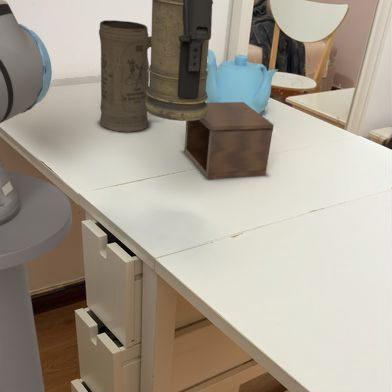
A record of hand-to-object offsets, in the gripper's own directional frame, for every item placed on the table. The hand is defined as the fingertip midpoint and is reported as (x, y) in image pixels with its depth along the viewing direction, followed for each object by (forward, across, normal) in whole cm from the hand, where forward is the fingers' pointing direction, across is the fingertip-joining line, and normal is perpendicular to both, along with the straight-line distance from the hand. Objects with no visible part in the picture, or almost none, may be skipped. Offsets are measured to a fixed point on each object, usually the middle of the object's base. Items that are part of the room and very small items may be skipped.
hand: (177, 86), depth 74 cm
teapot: (+20, +54, -33) cm, 66 cm away
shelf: (+19, +20, -17) cm, 33 cm away
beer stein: (+20, +46, -5) cm, 50 cm away
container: (+3, 0, 0) cm, 3 cm away
